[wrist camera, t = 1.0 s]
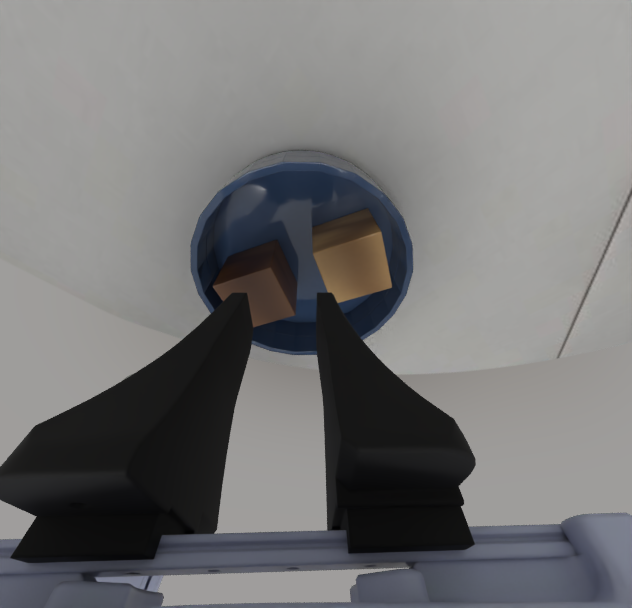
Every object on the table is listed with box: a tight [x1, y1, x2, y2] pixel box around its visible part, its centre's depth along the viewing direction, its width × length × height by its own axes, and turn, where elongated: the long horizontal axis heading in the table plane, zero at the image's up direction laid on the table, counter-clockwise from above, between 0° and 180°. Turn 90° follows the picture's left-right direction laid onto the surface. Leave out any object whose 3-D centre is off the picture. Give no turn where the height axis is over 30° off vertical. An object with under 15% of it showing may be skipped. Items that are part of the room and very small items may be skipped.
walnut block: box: [213, 240, 297, 327], centre depth 19 cm, size 4×4×4 cm
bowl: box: [191, 150, 413, 355], centre depth 18 cm, size 14×14×4 cm
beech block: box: [312, 208, 392, 303], centre depth 17 cm, size 4×4×4 cm
